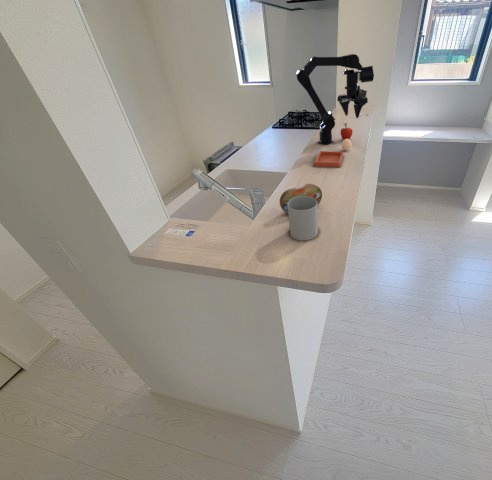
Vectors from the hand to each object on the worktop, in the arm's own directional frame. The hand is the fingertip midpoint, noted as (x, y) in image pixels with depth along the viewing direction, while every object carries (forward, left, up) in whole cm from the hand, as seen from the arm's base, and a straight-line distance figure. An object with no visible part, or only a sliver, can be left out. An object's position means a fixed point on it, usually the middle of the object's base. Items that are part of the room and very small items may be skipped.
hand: (351, 116), depth 145 cm
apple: (-3, 0, -13) cm, 13 cm away
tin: (+38, -72, -13) cm, 82 cm away
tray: (+13, -31, -13) cm, 36 cm away
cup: (+49, -80, -13) cm, 95 cm away
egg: (+9, -14, -13) cm, 21 cm away
